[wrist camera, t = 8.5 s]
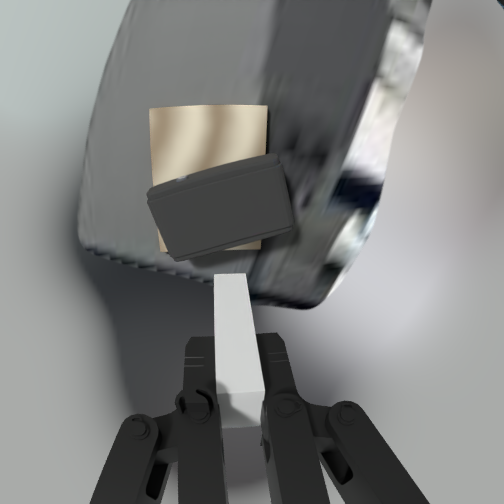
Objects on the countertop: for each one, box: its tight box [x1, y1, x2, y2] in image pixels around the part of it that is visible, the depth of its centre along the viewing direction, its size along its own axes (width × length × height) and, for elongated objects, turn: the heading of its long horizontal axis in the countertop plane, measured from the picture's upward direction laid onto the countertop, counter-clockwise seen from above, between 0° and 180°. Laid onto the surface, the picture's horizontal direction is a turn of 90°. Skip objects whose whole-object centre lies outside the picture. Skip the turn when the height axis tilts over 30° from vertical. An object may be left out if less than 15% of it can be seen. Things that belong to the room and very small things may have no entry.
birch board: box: [150, 105, 267, 252], centre depth 33 cm, size 13×18×1 cm
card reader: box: [147, 153, 294, 262], centre depth 32 cm, size 9×4×15 cm
